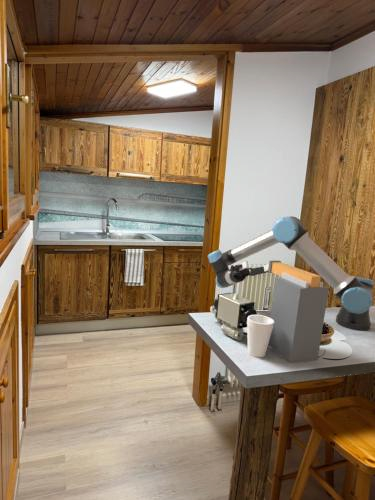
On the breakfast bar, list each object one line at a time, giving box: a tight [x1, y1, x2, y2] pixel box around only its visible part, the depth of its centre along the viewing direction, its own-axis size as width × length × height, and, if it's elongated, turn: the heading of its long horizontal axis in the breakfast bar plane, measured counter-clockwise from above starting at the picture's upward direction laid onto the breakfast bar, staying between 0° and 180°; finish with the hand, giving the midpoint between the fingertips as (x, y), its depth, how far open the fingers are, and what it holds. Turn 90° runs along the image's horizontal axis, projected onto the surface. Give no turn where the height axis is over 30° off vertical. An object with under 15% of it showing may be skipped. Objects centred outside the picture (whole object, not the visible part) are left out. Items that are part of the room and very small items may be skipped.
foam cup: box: [246, 314, 274, 358], centre depth 126 cm, size 10×9×13 cm
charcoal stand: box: [268, 273, 330, 364], centre depth 128 cm, size 12×15×29 cm
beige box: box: [209, 304, 223, 324], centre depth 154 cm, size 9×7×10 cm
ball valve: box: [213, 292, 258, 341], centre depth 139 cm, size 18×8×18 cm, turn 36°
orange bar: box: [267, 260, 322, 288], centre depth 130 cm, size 5×23×5 cm, turn 24°
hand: (260, 264), depth 153 cm, fingers open, 13 cm apart
